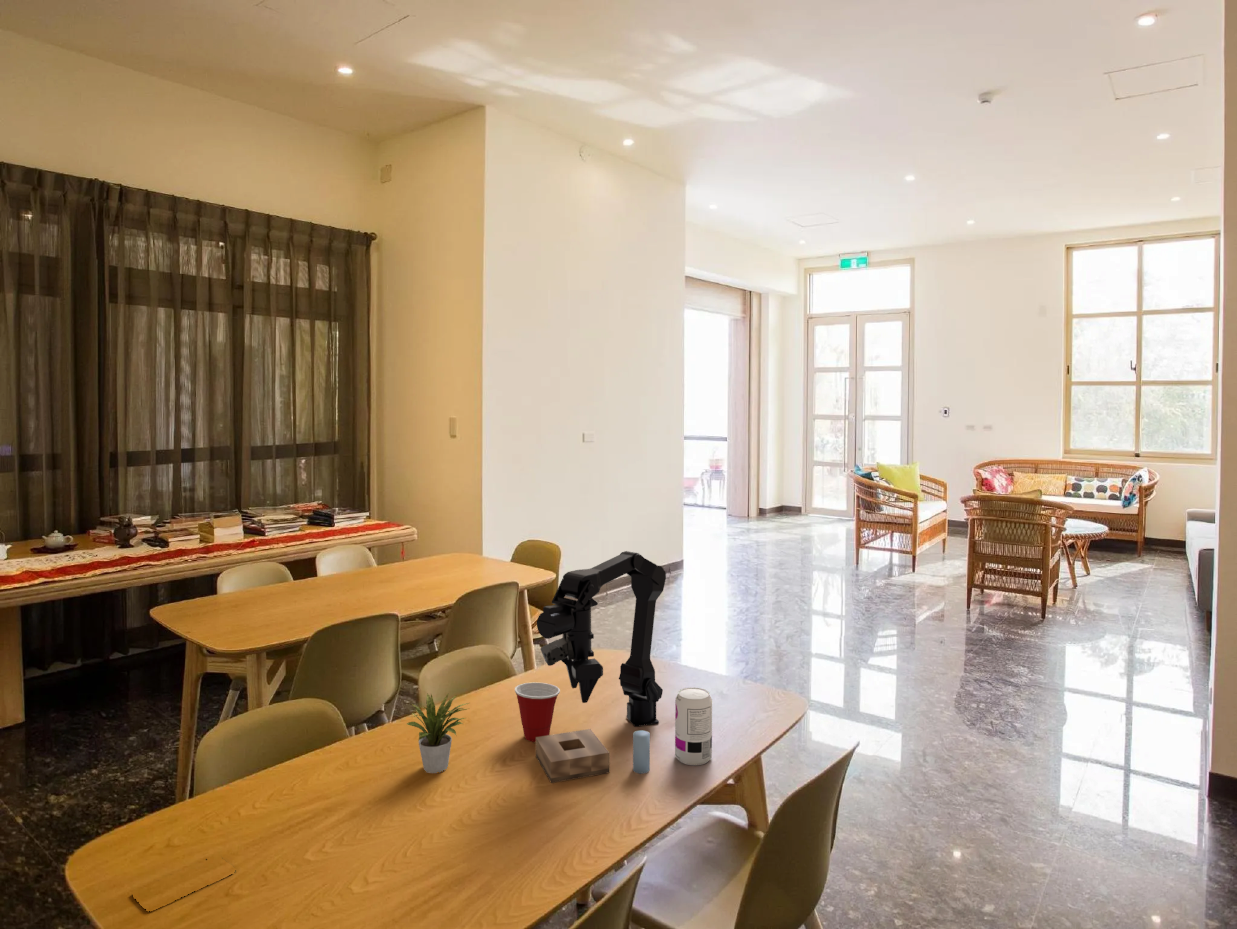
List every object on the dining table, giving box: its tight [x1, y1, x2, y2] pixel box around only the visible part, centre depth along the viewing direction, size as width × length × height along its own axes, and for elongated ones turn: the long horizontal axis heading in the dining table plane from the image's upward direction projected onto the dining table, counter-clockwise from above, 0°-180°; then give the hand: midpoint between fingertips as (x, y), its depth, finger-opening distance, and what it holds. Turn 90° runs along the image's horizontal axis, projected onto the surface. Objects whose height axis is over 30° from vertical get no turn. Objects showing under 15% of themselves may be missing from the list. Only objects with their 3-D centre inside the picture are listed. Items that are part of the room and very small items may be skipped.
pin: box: [632, 730, 651, 775], centre depth 169 cm, size 4×4×8 cm
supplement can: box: [674, 687, 713, 766], centre depth 174 cm, size 8×8×15 cm
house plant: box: [406, 693, 470, 774], centre depth 168 cm, size 14×14×16 cm
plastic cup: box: [514, 681, 561, 743], centre depth 185 cm, size 11×11×12 cm
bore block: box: [535, 728, 610, 784], centre depth 171 cm, size 13×13×4 cm
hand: (579, 695), depth 177 cm, fingers open, 9 cm apart
